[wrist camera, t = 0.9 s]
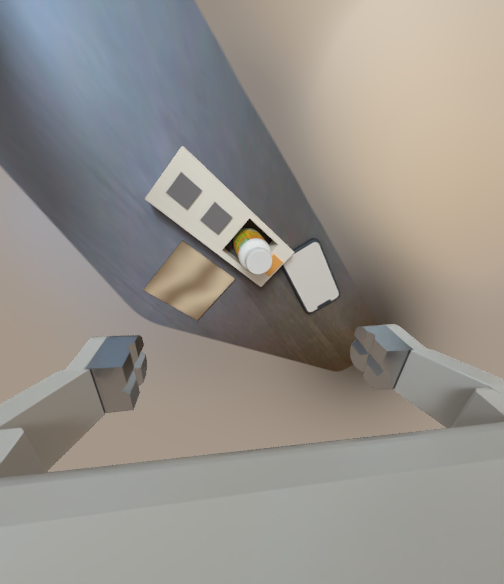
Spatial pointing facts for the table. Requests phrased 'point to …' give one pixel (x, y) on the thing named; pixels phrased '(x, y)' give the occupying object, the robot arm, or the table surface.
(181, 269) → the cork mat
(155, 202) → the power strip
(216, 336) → the table surface
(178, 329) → the table surface
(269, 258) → the supplement bottle
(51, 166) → the table surface
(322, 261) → the phone case
